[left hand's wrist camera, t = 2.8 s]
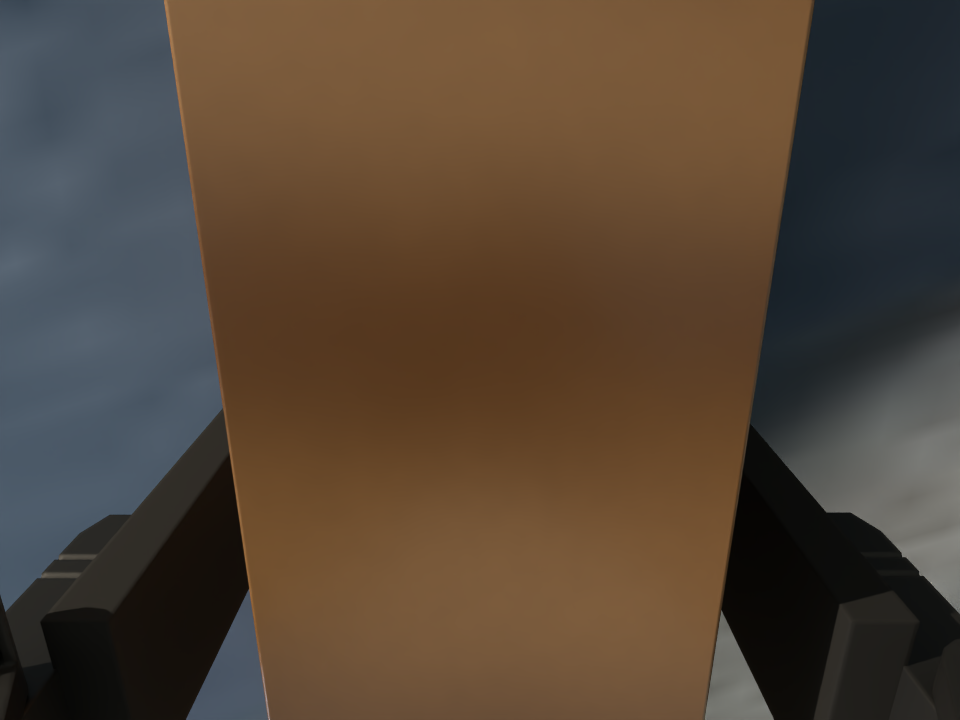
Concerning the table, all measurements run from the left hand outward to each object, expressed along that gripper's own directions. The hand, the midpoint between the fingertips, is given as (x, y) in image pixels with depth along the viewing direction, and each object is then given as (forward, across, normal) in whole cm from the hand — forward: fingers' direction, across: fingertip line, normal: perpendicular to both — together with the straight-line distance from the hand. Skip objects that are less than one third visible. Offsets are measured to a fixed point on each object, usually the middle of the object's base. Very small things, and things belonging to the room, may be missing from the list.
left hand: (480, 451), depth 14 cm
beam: (+1, 0, -26) cm, 26 cm away
